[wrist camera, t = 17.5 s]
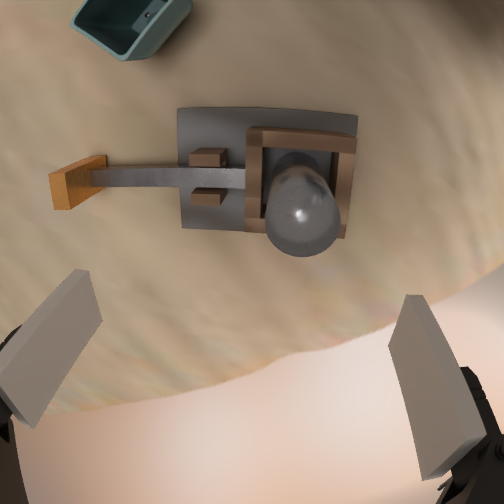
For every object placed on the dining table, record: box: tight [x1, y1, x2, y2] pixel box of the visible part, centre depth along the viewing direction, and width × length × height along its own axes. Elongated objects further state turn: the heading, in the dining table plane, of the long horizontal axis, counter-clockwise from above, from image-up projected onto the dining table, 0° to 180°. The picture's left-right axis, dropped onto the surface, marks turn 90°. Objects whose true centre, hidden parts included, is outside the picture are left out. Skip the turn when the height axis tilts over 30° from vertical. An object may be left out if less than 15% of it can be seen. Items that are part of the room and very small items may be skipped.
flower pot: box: [70, 0, 193, 61], centre depth 23 cm, size 9×9×9 cm
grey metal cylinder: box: [265, 152, 341, 257], centre depth 26 cm, size 5×5×14 cm
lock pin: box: [48, 155, 245, 210], centre depth 31 cm, size 4×20×9 cm, turn 89°
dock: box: [177, 107, 358, 239], centre depth 31 cm, size 14×19×6 cm
